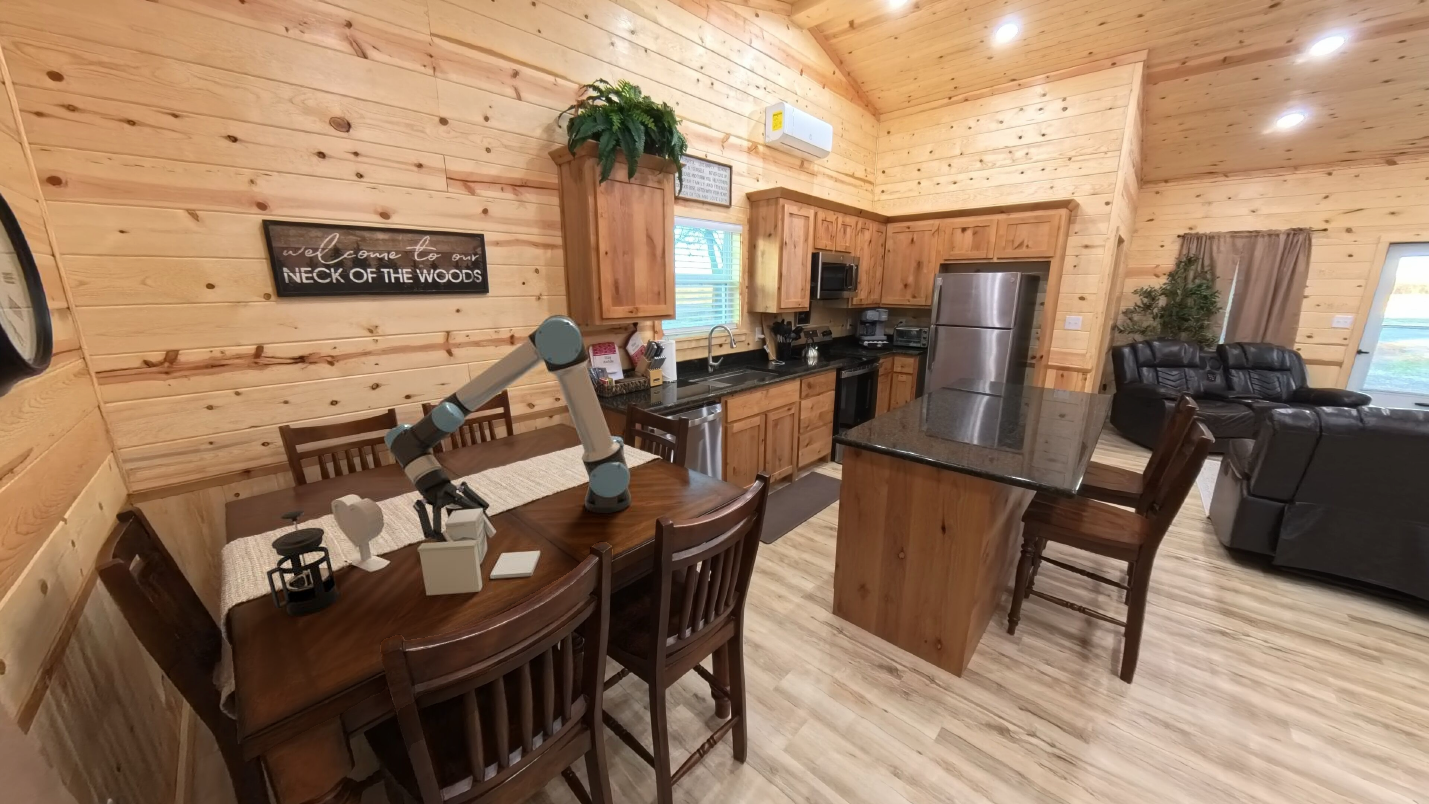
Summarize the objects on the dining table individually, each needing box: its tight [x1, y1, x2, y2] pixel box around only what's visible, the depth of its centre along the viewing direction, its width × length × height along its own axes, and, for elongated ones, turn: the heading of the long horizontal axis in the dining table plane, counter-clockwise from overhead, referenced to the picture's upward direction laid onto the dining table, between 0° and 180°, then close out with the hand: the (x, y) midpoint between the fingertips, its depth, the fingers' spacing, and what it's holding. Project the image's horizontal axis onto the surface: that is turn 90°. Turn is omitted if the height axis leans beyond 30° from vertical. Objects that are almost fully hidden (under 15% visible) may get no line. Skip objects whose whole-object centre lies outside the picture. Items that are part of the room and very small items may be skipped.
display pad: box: [489, 550, 541, 579], centre depth 126 cm, size 10×10×1 cm
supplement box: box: [444, 508, 488, 565], centre depth 124 cm, size 7×7×13 cm
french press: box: [266, 509, 340, 617], centre depth 108 cm, size 12×9×23 cm
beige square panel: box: [417, 540, 483, 596], centre depth 114 cm, size 12×2×13 cm, turn 98°
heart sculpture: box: [330, 493, 391, 573], centre depth 125 cm, size 16×5×18 cm, turn 66°
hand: (475, 544), depth 123 cm, fingers closed on supplement box, 10 cm apart
